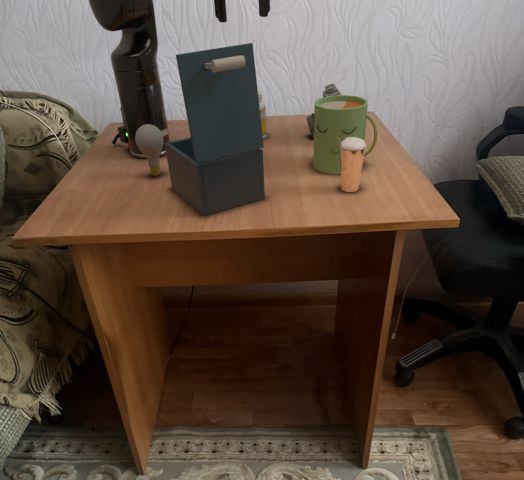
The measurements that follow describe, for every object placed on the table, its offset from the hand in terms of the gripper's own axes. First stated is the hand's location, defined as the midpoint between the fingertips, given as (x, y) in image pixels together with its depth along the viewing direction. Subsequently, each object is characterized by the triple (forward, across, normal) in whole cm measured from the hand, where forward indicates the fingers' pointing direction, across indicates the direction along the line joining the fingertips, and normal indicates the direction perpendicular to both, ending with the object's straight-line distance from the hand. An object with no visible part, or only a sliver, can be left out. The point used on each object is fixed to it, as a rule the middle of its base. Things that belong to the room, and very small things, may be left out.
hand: (243, 19), depth 90 cm
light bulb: (+26, +21, -3) cm, 33 cm away
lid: (+9, +14, +18) cm, 25 cm away
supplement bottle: (+26, -8, -12) cm, 30 cm away
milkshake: (+25, -7, +25) cm, 37 cm away
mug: (+26, -14, +15) cm, 33 cm away
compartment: (+25, +14, +13) cm, 32 cm away
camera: (+26, -22, -3) cm, 34 cm away
